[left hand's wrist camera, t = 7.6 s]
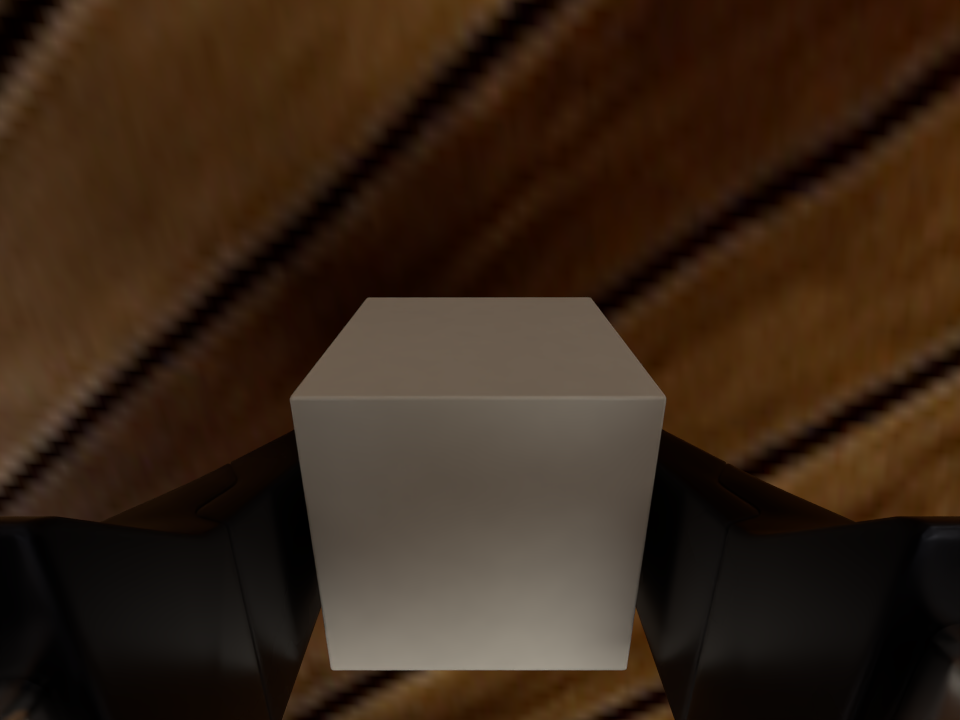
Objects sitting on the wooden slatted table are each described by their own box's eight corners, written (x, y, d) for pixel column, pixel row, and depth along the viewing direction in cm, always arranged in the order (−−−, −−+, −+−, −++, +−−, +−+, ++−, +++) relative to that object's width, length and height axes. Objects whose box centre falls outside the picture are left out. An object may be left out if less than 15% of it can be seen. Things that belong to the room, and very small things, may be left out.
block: (591, 296, 11) (668, 396, 7) (575, 489, 13) (627, 672, 8) (366, 296, 11) (288, 396, 7) (382, 489, 13) (330, 671, 8)
